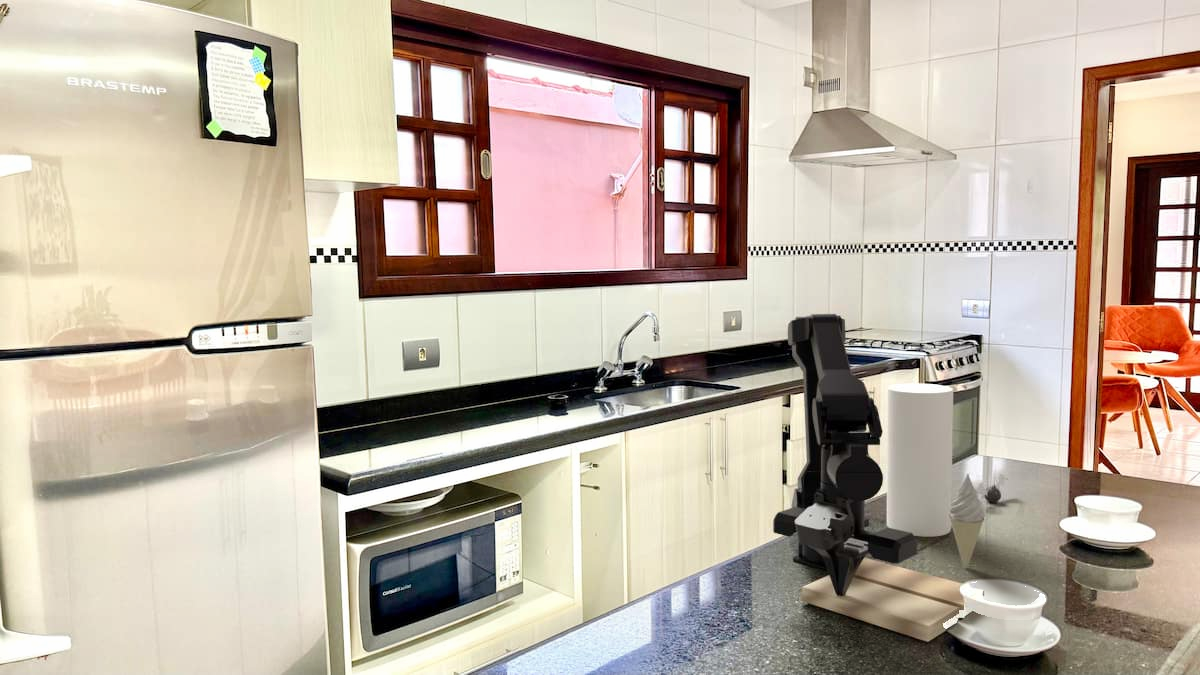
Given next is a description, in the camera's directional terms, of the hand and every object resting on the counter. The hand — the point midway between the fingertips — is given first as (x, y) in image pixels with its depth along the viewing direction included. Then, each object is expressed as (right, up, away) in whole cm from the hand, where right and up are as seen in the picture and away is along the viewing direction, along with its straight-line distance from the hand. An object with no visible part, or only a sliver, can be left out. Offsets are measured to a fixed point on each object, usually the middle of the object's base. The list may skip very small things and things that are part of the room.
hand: (840, 595), depth 112 cm
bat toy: (+43, +3, +47) cm, 64 cm away
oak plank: (+5, -2, 0) cm, 5 cm away
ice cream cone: (+23, -1, +15) cm, 28 cm away
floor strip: (+12, -2, +6) cm, 13 cm away
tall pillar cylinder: (+24, +1, +34) cm, 42 cm away
